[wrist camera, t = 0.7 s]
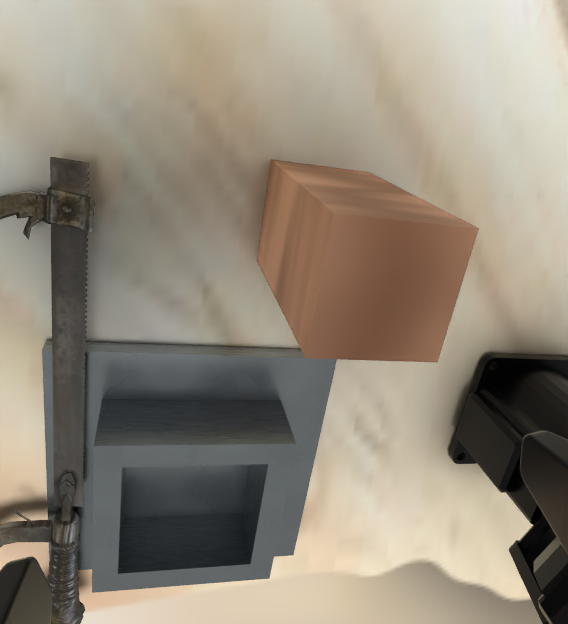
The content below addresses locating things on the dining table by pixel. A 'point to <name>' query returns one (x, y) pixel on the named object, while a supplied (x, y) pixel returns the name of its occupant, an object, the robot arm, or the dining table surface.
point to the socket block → (191, 460)
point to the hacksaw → (62, 372)
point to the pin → (360, 263)
